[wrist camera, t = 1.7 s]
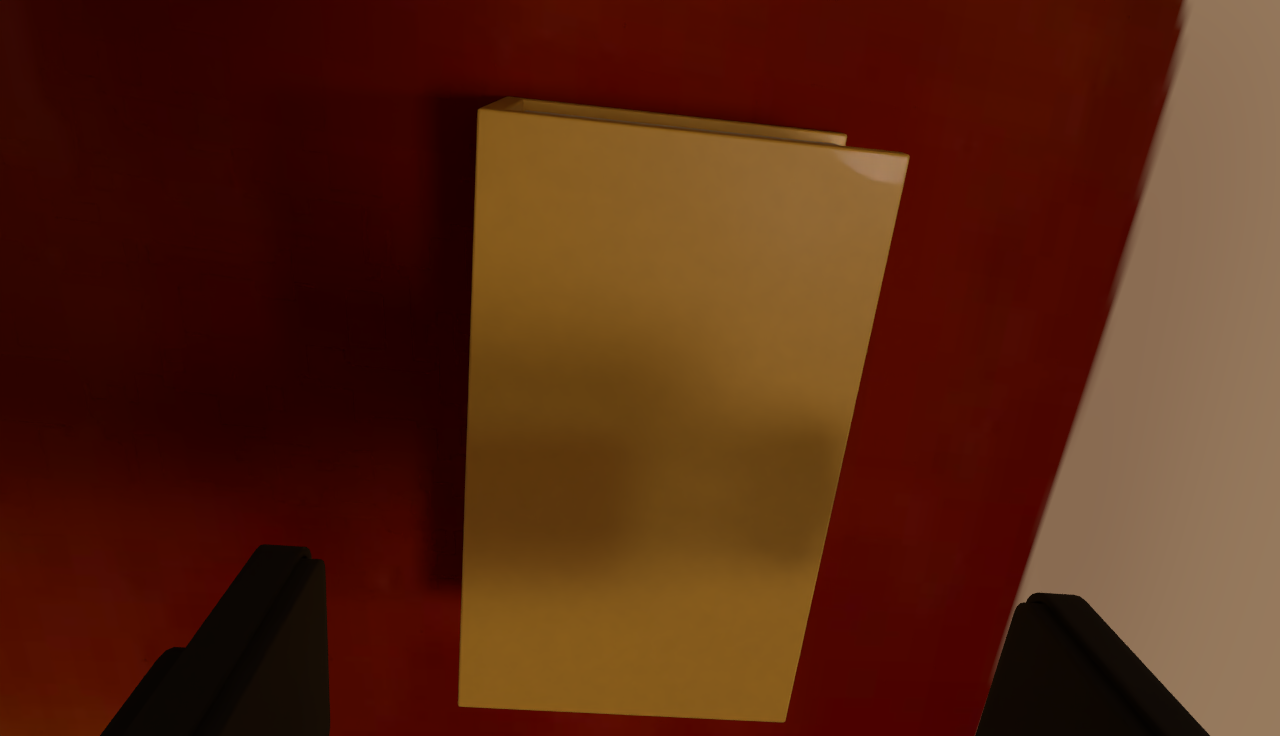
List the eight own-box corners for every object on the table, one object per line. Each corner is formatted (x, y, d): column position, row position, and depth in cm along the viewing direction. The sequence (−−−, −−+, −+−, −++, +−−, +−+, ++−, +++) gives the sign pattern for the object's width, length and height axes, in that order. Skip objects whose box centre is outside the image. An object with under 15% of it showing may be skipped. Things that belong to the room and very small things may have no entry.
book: (505, 95, 16) (477, 108, 13) (842, 133, 17) (911, 154, 13) (483, 589, 21) (457, 707, 17) (752, 605, 21) (785, 723, 17)
